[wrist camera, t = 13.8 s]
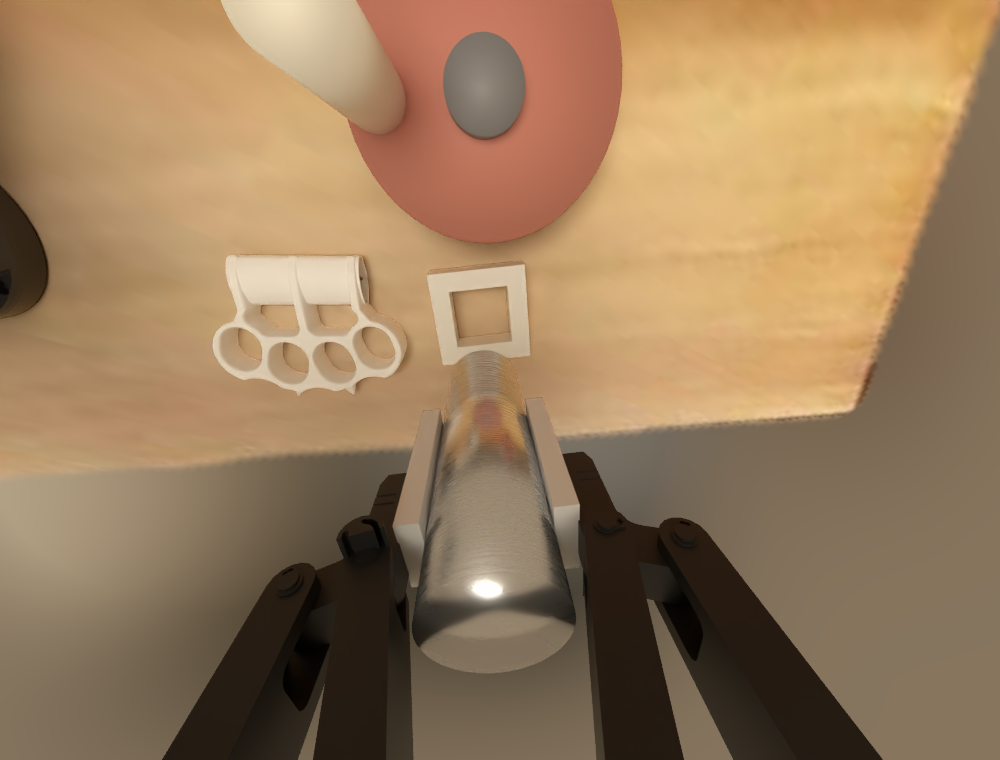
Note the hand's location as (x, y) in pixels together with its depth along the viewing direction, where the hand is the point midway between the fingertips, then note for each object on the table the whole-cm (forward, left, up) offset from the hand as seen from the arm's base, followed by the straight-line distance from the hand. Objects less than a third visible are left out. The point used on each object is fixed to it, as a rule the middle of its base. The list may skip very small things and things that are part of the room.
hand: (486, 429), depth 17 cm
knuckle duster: (-17, 0, -23) cm, 29 cm away
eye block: (0, 0, -23) cm, 23 cm away
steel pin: (0, 0, -5) cm, 5 cm away
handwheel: (+2, +16, -17) cm, 23 cm away
